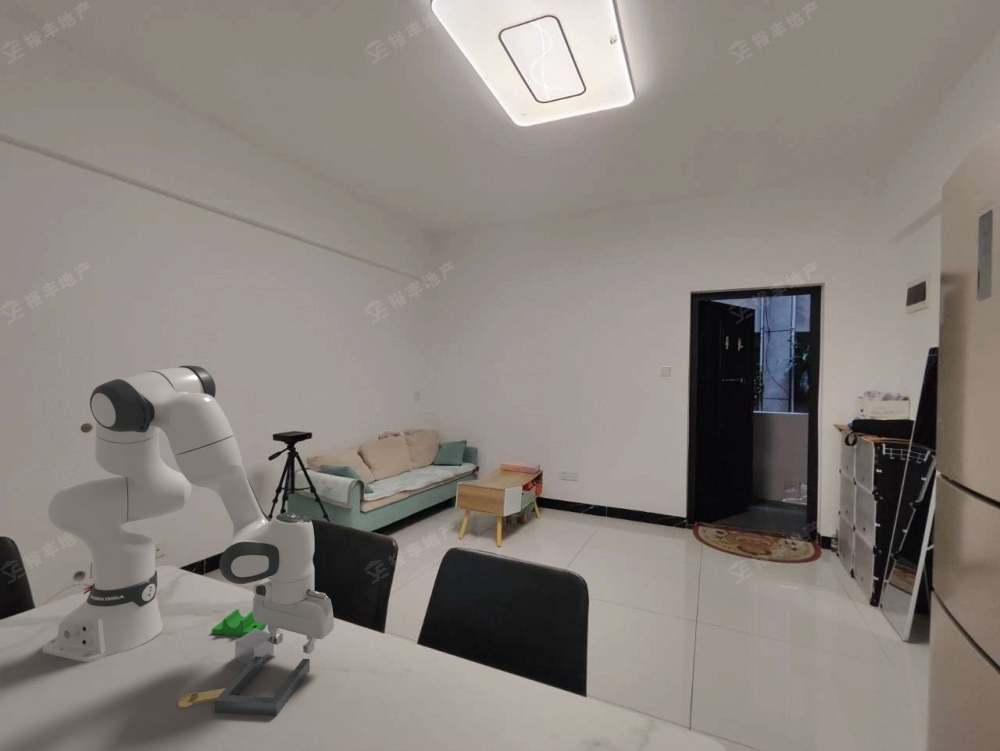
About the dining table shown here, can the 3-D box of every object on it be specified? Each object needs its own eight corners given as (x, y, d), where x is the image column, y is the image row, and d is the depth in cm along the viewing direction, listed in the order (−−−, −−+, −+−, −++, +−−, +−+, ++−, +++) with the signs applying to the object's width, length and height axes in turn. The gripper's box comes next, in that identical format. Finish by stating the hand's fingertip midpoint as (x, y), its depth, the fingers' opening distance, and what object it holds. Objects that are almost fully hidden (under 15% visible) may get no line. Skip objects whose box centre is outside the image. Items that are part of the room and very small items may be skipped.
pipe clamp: (266, 611, 109) (254, 621, 105) (266, 626, 109) (254, 637, 105) (225, 608, 110) (211, 618, 106) (225, 623, 110) (211, 633, 106)
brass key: (175, 712, 82) (175, 706, 82) (182, 700, 85) (182, 694, 85) (222, 704, 84) (222, 697, 84) (227, 692, 87) (227, 686, 87)
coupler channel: (214, 716, 81) (214, 700, 81) (255, 670, 93) (255, 656, 93) (276, 719, 80) (276, 703, 80) (309, 672, 93) (309, 658, 93)
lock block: (235, 660, 96) (235, 640, 96) (255, 647, 101) (255, 628, 101) (253, 668, 94) (253, 647, 94) (273, 654, 99) (273, 635, 99)
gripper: (340, 587, 96) (340, 649, 97) (270, 572, 103) (270, 630, 103) (319, 602, 90) (319, 667, 91) (247, 584, 97) (247, 645, 97)
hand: (292, 647), depth 97 cm, fingers open, 8 cm apart
